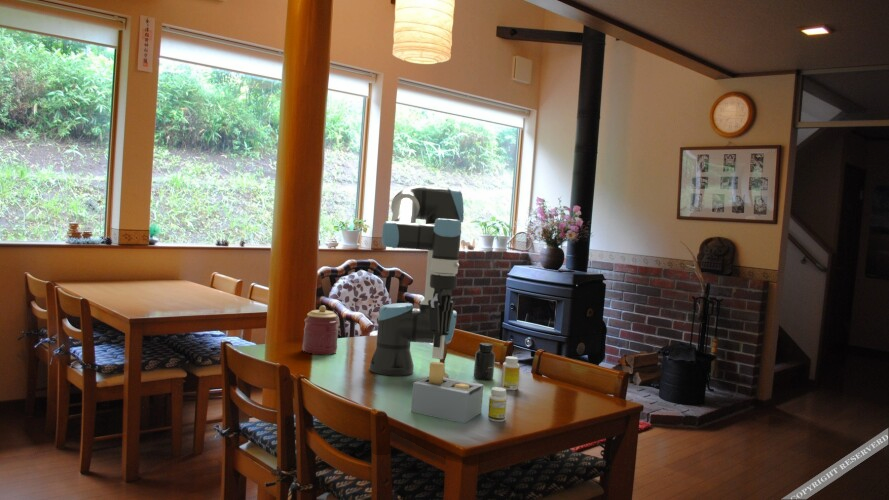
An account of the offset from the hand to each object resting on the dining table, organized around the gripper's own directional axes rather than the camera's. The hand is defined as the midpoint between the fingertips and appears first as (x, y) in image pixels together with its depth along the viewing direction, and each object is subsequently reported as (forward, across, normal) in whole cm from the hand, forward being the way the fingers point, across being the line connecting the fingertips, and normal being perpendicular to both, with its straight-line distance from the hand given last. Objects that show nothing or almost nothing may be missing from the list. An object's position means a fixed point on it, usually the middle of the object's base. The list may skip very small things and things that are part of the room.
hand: (437, 358), depth 183 cm
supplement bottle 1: (+15, +45, +3) cm, 48 cm away
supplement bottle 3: (+15, +38, -9) cm, 42 cm away
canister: (+15, +40, +68) cm, 80 cm away
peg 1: (+9, 0, 0) cm, 9 cm away
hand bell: (+15, +19, +7) cm, 25 cm away
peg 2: (+14, 0, -8) cm, 16 cm away
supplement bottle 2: (+15, +3, -18) cm, 23 cm away
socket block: (+15, 0, -4) cm, 15 cm away
